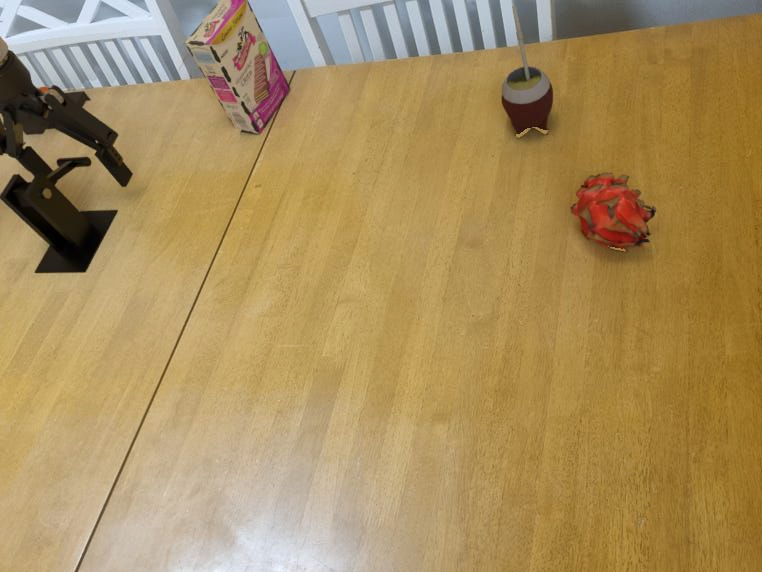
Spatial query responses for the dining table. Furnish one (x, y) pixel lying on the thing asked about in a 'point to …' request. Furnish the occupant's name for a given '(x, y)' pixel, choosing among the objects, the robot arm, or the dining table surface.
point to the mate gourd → (526, 92)
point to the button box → (39, 129)
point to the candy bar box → (239, 64)
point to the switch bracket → (59, 224)
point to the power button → (43, 89)
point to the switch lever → (54, 175)
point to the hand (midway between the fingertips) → (90, 182)
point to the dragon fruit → (612, 212)
